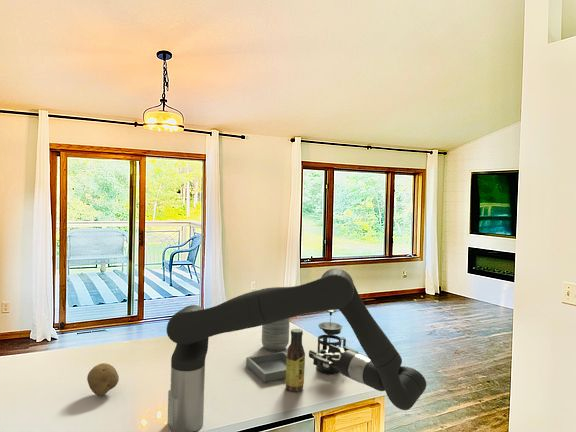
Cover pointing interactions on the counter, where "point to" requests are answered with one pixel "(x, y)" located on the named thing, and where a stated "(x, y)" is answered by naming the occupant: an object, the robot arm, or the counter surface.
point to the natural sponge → (102, 379)
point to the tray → (268, 366)
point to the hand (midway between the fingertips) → (319, 350)
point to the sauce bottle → (295, 362)
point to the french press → (331, 330)
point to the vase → (276, 335)
